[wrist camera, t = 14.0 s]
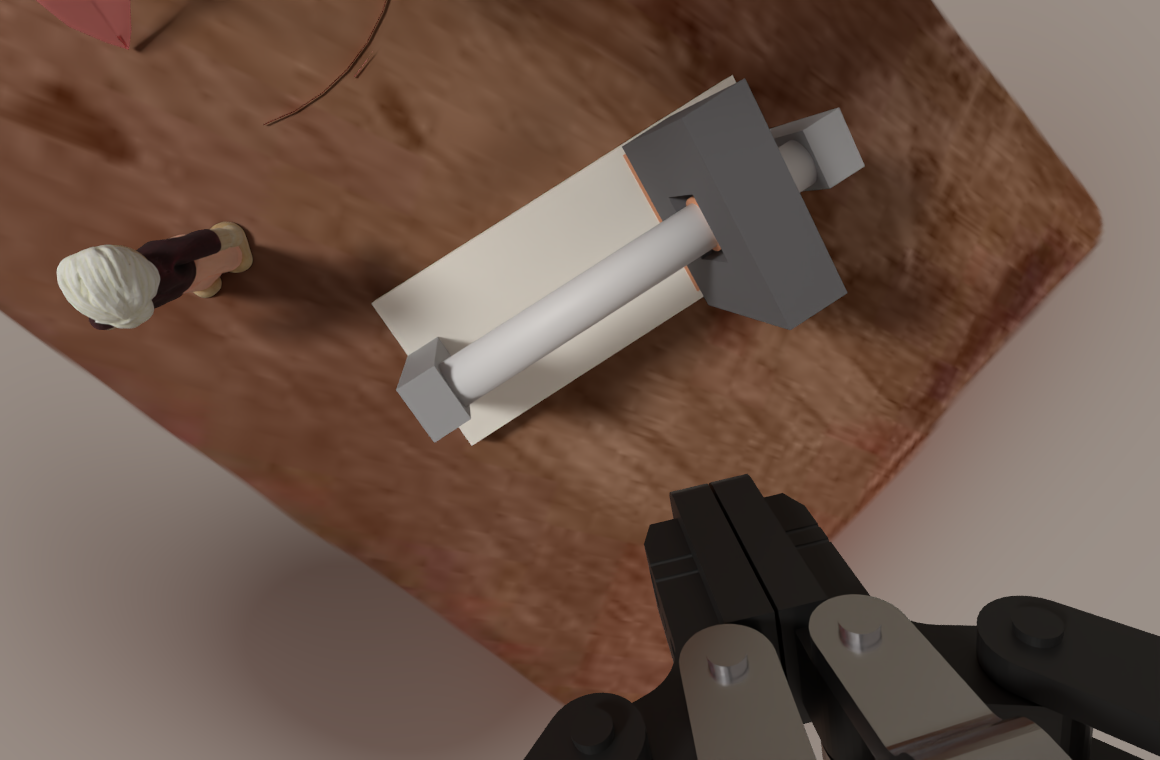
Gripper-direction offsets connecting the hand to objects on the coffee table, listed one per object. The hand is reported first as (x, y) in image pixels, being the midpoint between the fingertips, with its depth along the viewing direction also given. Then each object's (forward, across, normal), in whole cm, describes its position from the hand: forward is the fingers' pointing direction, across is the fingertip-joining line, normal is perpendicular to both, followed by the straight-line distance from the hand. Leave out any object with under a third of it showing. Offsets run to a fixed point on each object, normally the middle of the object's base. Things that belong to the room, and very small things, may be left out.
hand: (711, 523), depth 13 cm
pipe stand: (+30, -1, +2) cm, 30 cm away
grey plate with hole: (+27, -6, 0) cm, 28 cm away
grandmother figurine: (+28, +20, -3) cm, 35 cm away
